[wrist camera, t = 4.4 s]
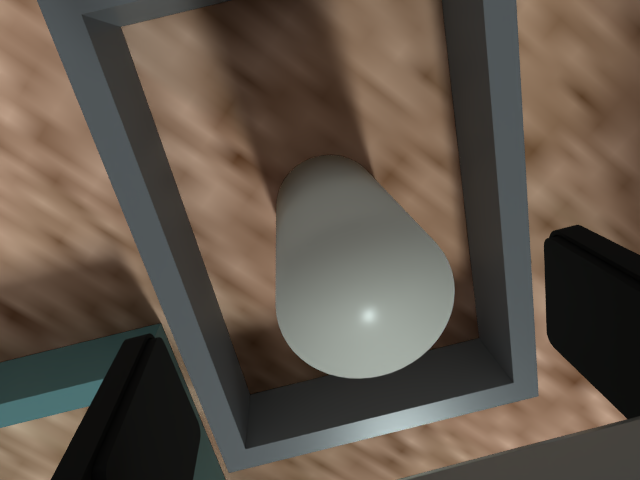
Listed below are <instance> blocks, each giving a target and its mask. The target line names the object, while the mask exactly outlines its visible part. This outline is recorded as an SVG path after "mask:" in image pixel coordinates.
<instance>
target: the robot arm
mask: <svg viewBox="0 0 640 480" xmlns="http://www.w3.org/2000/svg"><path fill="white" fill-rule="evenodd" d="M544 261H545V292H546V323H547V335H548V339H549V341H550V343H551V344H552V346H553V347H554V348H555V349H556V350H557V351H558V352H559V353H560V354H561V355H562V356H563V357H564V358H565V359H566V360H567V361H568V362H569V363H570V364H572V365H573V366H574V367H575V368H576V369H577V370H578V371H579V372H580V373H581V374H582V375H583V376H584V377H585V378H586V379H587V380H588V381H589V382H590V383H591V384H592V385H593V386H594V387H595V388H596V389H597V390H598V391H599V392H600V393H601V394H602V395H603V396H604V397H605V398H606V399H608V400H609V401H610V402H611V403H612V404H613V405H614V406H615V407H616V408H617V409H618V410H619V411H620V412H621V413H622V414H623V415H624V416H625V417H626V418H627V420H623V421H619V422H615V423H611V424H607V425H604V426H600V427H596V428H592V429H588V430H584V431H580V432H576V433H573V434H569V435H565V436H561V437H557V438H553V439H549V440H545V441H542V442H538V443H534V444H530V445H526V446H522V447H518V448H515V449H511V450H507V451H503V452H499V453H496V454H492V455H488V456H484V457H480V458H477V459H473V460H469V461H465V462H461V463H458V464H454V465H450V466H446V467H442V468H439V469H435V470H431V471H427V472H424V473H420V474H416V475H412V476H409V477H405V478H401V479H397V480H640V255H638V254H636V253H634V252H632V251H630V250H628V249H626V248H624V247H622V246H620V245H618V244H616V243H614V242H612V241H610V240H608V239H606V238H604V237H602V236H600V235H598V234H596V233H594V232H592V231H590V230H588V229H586V228H584V227H582V226H580V225H575V226H571V227H567V228H563V229H559V230H555V231H553V232H552V233H551V234H550V237H549V238H547V239H546V240H545V242H544ZM200 437H201V432H200V426H199V422H198V420H197V418H196V415H195V413H194V411H193V408H192V406H191V403H190V401H189V399H188V396H187V394H186V392H185V389H184V387H183V385H182V382H181V380H180V378H179V375H178V373H177V371H176V368H175V366H174V364H173V361H172V359H171V357H170V354H169V352H168V350H167V347H166V345H165V343H164V341H163V339H162V338H160V337H158V338H155V337H154V336H153V335H152V334H150V333H149V334H145V335H141V336H137V337H133V338H129V339H126V340H124V342H123V343H122V345H121V347H120V349H119V351H118V353H117V355H116V357H115V358H114V360H113V362H112V364H111V366H110V368H109V370H108V372H107V374H106V376H105V377H104V379H103V381H102V383H101V385H100V387H99V389H98V391H97V393H96V395H95V397H94V398H93V400H92V402H91V404H90V406H89V408H88V410H87V412H86V414H85V416H84V418H83V419H82V421H81V423H80V425H79V427H78V429H77V431H76V433H75V435H74V437H73V438H72V440H71V442H70V444H69V446H68V448H67V450H66V452H65V454H64V456H63V458H62V459H61V461H60V463H59V465H58V467H57V469H56V471H55V473H54V475H53V477H52V478H51V480H193V477H194V472H195V466H196V461H197V455H198V450H199V444H200Z"/></svg>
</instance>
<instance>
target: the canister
mask: <svg viewBox="0 0 640 480" xmlns="http://www.w3.org/2000/svg"><path fill="white" fill-rule="evenodd" d="M454 294H455V288H454V279H453V274H452V270H451V267H450V265H449V262H448V260H447V258H446V256H445V255H444V253H443V251H442V250H441V249H440V247H439V246H438V245H437V244H436V243H435V241H434V240H433V239H432V238H431V237H430V236H429V235H428V234H427V233H426V232H425V231H424V230H423V229H422V228H421V227H420V226H419V225H418V224H417V223H416V222H415V220H414V219H413V218H412V217H411V216H410V215H409V214H408V213H407V212H406V211H405V210H404V209H403V208H402V207H401V206H400V205H399V204H398V203H397V202H396V201H395V199H394V198H393V197H392V196H391V195H390V194H389V193H388V192H387V191H386V190H385V189H384V188H383V187H382V186H381V185H380V184H379V183H378V182H377V181H376V180H375V178H374V177H373V176H372V175H371V174H370V173H369V172H368V171H367V170H366V169H365V168H364V167H363V166H361V165H360V164H358V163H357V162H355V161H353V160H351V159H349V158H346V157H342V156H338V155H322V156H317V157H314V158H310V159H308V160H306V161H304V162H302V163H301V164H299V165H298V166H296V167H295V168H294V169H293V170H292V171H291V172H290V173H289V174H288V175H287V177H286V178H285V179H284V181H283V183H282V185H281V187H280V189H279V192H278V196H277V202H276V315H277V320H278V324H279V327H280V330H281V332H282V335H283V337H284V338H285V340H286V342H287V344H288V345H289V346H290V348H291V349H292V350H293V351H294V352H295V353H296V354H297V355H298V356H299V357H300V358H301V359H302V360H303V361H305V362H306V363H307V364H309V365H310V366H312V367H314V368H316V369H318V370H320V371H322V372H325V373H327V374H331V375H334V376H338V377H345V378H372V377H377V376H382V375H385V374H389V373H392V372H394V371H397V370H399V369H402V368H404V367H405V366H407V365H409V364H411V363H412V362H414V361H415V360H417V359H418V358H419V357H421V356H422V355H423V354H424V353H425V352H427V351H428V350H429V349H430V348H431V347H432V345H433V344H434V343H435V342H436V341H437V340H438V338H439V337H440V335H441V334H442V332H443V331H444V329H445V327H446V325H447V323H448V321H449V318H450V315H451V312H452V308H453V304H454Z"/></svg>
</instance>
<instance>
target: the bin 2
mask: <svg viewBox="0 0 640 480" xmlns="http://www.w3.org/2000/svg"><path fill="white" fill-rule="evenodd" d="M226 1H230V0H37V2H38V4H39V6H40V9H41V11H42V14H43V16H44V19H45V21H46V24H47V26H48V29H49V31H50V34H51V36H52V38H53V41H54V43H55V46H56V48H57V51H58V53H59V56H60V58H61V61H62V63H63V66H64V68H65V70H66V73H67V75H68V78H69V80H70V83H71V85H72V88H73V90H74V93H75V95H76V98H77V100H78V103H79V105H80V107H81V110H82V112H83V115H84V117H85V120H86V122H87V125H88V127H89V130H90V132H91V135H92V137H93V139H94V142H95V144H96V147H97V149H98V152H99V154H100V157H101V159H102V162H103V164H104V167H105V169H106V171H107V174H108V176H109V179H110V181H111V184H112V186H113V189H114V191H115V194H116V196H117V199H118V201H119V203H120V206H121V208H122V211H123V213H124V216H125V218H126V221H127V223H128V226H129V228H130V231H131V233H132V235H133V238H134V240H135V243H136V245H137V248H138V250H139V253H140V255H141V258H142V260H143V263H144V265H145V267H146V270H147V272H148V275H149V277H150V280H151V282H152V285H153V287H154V290H155V292H156V295H157V297H158V300H159V302H160V304H161V307H162V309H163V312H164V314H165V317H166V319H167V322H168V324H169V327H170V329H171V332H172V334H173V336H174V339H175V341H176V344H177V346H178V349H179V351H180V354H181V356H182V359H183V361H184V364H185V366H186V368H187V371H188V373H189V376H190V378H191V381H192V383H193V386H194V388H195V391H196V393H197V396H198V398H199V400H200V403H201V405H202V408H203V410H204V413H205V415H206V418H207V420H208V423H209V425H210V428H211V430H212V432H213V435H214V437H215V440H216V442H217V445H218V447H219V450H220V452H221V455H222V457H223V460H224V462H225V464H226V467H227V469H228V472H229V473H231V472H235V471H239V470H243V469H247V468H251V467H255V466H259V465H263V464H267V463H271V462H275V461H279V460H283V459H287V458H291V457H295V456H299V455H303V454H307V453H311V452H315V451H319V450H323V449H327V448H331V447H335V446H339V445H343V444H347V443H351V442H356V441H360V440H364V439H368V438H372V437H376V436H380V435H384V434H388V433H392V432H396V431H400V430H404V429H408V428H412V427H416V426H420V425H424V424H428V423H432V422H436V421H440V420H444V419H448V418H452V417H456V416H460V415H464V414H468V413H472V412H476V411H480V410H484V409H489V408H493V407H497V406H501V405H505V404H509V403H513V402H517V401H521V400H525V399H529V398H533V397H537V396H538V379H537V361H536V344H535V326H534V308H533V290H532V273H531V255H530V237H529V220H528V202H527V184H526V167H525V149H524V131H523V113H522V96H521V78H520V60H519V43H518V25H517V7H516V0H442V6H443V15H444V24H445V33H446V42H447V51H448V60H449V69H450V78H451V87H452V96H453V105H454V114H455V123H456V132H457V142H458V151H459V160H460V169H461V178H462V187H463V196H464V205H465V214H466V223H467V232H468V241H469V250H470V259H471V268H472V277H473V286H474V295H475V304H476V313H477V322H478V331H479V338H478V339H474V340H470V341H466V342H462V343H458V344H454V345H450V346H445V347H441V348H437V349H433V350H429V351H427V352H425V353H424V354H423V355H422V356H421V357H419V358H418V359H417V360H415V361H414V362H412V363H411V364H409V365H407V366H405V367H404V368H402V369H399V370H397V371H394V372H392V373H389V374H385V375H382V376H377V377H372V378H345V377H338V376H334V375H328V376H324V377H320V378H316V379H312V380H308V381H304V382H300V383H296V384H292V385H288V386H284V387H279V388H275V389H271V390H267V391H263V392H259V393H255V394H251V395H250V393H249V390H248V387H247V385H246V382H245V379H244V376H243V373H242V370H241V367H240V365H239V362H238V359H237V356H236V353H235V350H234V348H233V345H232V342H231V339H230V336H229V333H228V331H227V328H226V325H225V322H224V319H223V316H222V313H221V311H220V308H219V305H218V302H217V299H216V296H215V294H214V291H213V288H212V285H211V282H210V279H209V277H208V274H207V271H206V268H205V265H204V262H203V259H202V257H201V254H200V251H199V248H198V245H197V242H196V240H195V237H194V234H193V231H192V228H191V225H190V223H189V220H188V217H187V214H186V211H185V208H184V205H183V203H182V200H181V197H180V194H179V191H178V188H177V186H176V183H175V180H174V177H173V174H172V171H171V169H170V166H169V163H168V160H167V157H166V154H165V151H164V149H163V146H162V143H161V140H160V137H159V134H158V132H157V129H156V126H155V123H154V120H153V117H152V115H151V112H150V109H149V106H148V103H147V100H146V97H145V95H144V92H143V89H142V86H141V83H140V80H139V78H138V75H137V72H136V69H135V66H134V63H133V61H132V58H131V55H130V52H129V49H128V46H127V43H126V41H125V38H124V35H123V32H122V29H121V27H122V26H126V25H130V24H135V23H139V22H143V21H147V20H151V19H155V18H160V17H164V16H168V15H172V14H176V13H180V12H185V11H189V10H193V9H197V8H201V7H205V6H209V5H214V4H218V3H222V2H226Z"/></svg>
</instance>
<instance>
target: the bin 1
mask: <svg viewBox="0 0 640 480" xmlns="http://www.w3.org/2000/svg"><path fill="white" fill-rule="evenodd" d="M149 333H150V334H152V335H153V336H154V337H155V338H158V337H160V338H162V339H163V341H164V343H165V345H166V347H167V350H168V352H169V354H170V357H171V359H172V361H173V364H174V366H175V368H176V371H177V373H178V375H179V378H180V380H181V382H182V385H183V387H184V389H185V392H186V394H187V396H188V399H189V401H190V403H191V406H192V408H193V411H194V413H195V415H196V418H197V420H198V422H199V426H200V432H201V437H200V444H199V450H198V455H197V461H196V466H195V472H194V477H193V480H225V477H224V475H223V472H222V470H221V468H220V465H219V463H218V460H217V458H216V456H215V453H214V451H213V448H212V446H211V443H210V441H209V439H208V436H207V434H206V431H205V429H204V426H203V424H202V422H201V419H200V417H199V414H198V412H197V410H196V407H195V405H194V402H193V400H192V397H191V395H190V393H189V390H188V388H187V385H186V383H185V380H184V378H183V376H182V373H181V371H180V368H179V366H178V364H177V361H176V359H175V356H174V354H173V351H172V349H171V347H170V344H169V342H168V339H167V337H166V334H165V332H164V330H163V327H162V325H161V323H160V324H156V325H151V326H147V327H143V328H139V329H135V330H131V331H127V332H123V333H119V334H115V335H111V336H107V337H103V338H98V339H94V340H90V341H86V342H82V343H78V344H74V345H70V346H66V347H62V348H58V349H54V350H50V351H46V352H41V353H37V354H33V355H29V356H25V357H21V358H17V359H13V360H9V361H5V362H1V363H0V428H2V427H6V426H10V425H14V424H18V423H22V422H26V421H30V420H34V419H38V418H42V417H46V416H50V415H55V414H59V413H63V412H67V411H71V410H75V409H79V408H83V407H87V406H90V404H91V402H92V400H93V398H94V397H95V395H96V393H97V391H98V389H99V387H100V385H101V383H102V381H103V379H104V377H105V376H106V374H107V372H108V370H109V368H110V366H111V364H112V362H113V360H114V358H115V357H116V355H117V353H118V351H119V349H120V347H121V345H122V343H123V342H124V340H126V339H129V338H133V337H137V336H141V335H145V334H149Z"/></svg>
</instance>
